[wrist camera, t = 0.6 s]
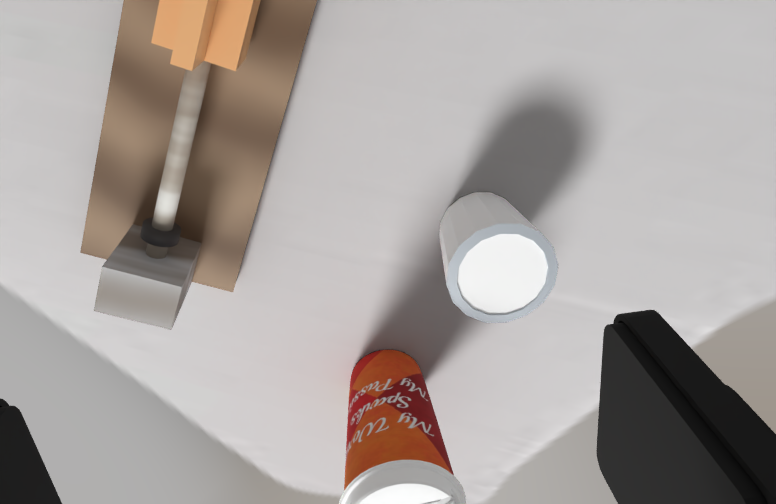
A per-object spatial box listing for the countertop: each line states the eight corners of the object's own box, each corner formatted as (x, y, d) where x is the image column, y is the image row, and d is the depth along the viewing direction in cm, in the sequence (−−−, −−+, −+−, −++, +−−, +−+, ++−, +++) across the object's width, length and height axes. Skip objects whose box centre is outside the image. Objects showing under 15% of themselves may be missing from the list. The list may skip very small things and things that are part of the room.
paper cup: (415, 323, 47) (446, 460, 35) (447, 398, 50) (486, 547, 38) (319, 358, 48) (314, 504, 35) (357, 430, 51) (365, 587, 39)
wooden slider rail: (158, -153, 33) (113, -179, 26) (340, -80, 35) (341, -87, 28) (88, 242, 42) (42, 298, 36) (235, 281, 44) (218, 341, 38)
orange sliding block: (190, -63, 33) (155, -66, 26) (269, -33, 34) (253, -29, 27) (170, 32, 35) (133, 51, 28) (245, 58, 36) (226, 82, 29)
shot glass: (412, 216, 43) (425, 261, 37) (500, 164, 42) (529, 202, 36) (459, 288, 46) (479, 342, 40) (542, 242, 45) (576, 289, 39)
